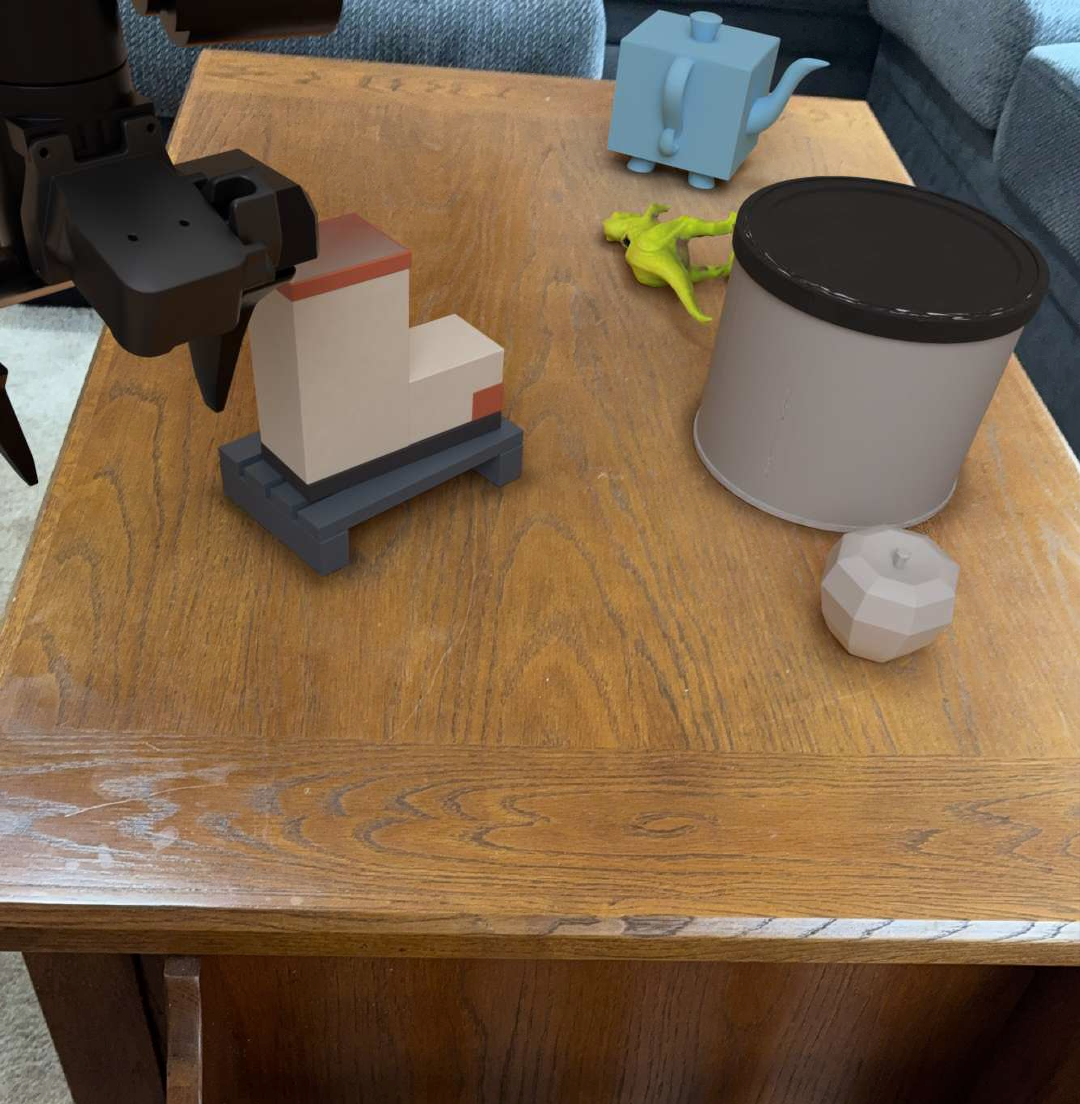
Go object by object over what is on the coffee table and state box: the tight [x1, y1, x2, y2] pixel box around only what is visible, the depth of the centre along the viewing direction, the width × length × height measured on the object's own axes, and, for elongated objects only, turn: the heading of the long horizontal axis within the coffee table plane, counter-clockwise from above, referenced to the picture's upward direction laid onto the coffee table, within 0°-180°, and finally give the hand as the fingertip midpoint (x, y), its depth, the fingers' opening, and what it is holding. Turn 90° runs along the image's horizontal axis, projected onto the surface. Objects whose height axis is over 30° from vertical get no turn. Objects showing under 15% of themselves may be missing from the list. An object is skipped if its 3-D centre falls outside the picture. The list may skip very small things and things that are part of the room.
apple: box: [820, 524, 960, 664], centre depth 62 cm, size 8×8×7 cm
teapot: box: [606, 9, 831, 190], centre depth 104 cm, size 18×16×13 cm
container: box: [692, 175, 1051, 534], centre depth 72 cm, size 19×19×15 cm
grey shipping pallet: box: [217, 415, 525, 577], centre depth 69 cm, size 16×10×4 cm, turn 135°
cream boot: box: [247, 212, 505, 503], centre depth 63 cm, size 14×5×13 cm, turn 130°
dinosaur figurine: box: [601, 202, 738, 324], centre depth 91 cm, size 20×10×6 cm, turn 29°
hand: (126, 443), depth 50 cm, fingers open, 9 cm apart
